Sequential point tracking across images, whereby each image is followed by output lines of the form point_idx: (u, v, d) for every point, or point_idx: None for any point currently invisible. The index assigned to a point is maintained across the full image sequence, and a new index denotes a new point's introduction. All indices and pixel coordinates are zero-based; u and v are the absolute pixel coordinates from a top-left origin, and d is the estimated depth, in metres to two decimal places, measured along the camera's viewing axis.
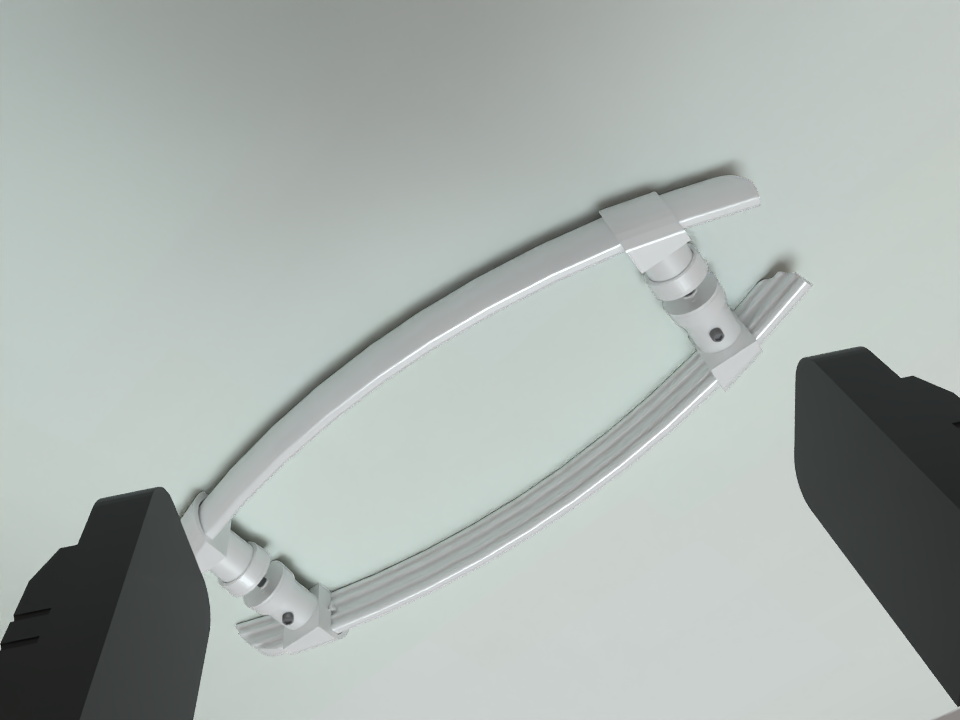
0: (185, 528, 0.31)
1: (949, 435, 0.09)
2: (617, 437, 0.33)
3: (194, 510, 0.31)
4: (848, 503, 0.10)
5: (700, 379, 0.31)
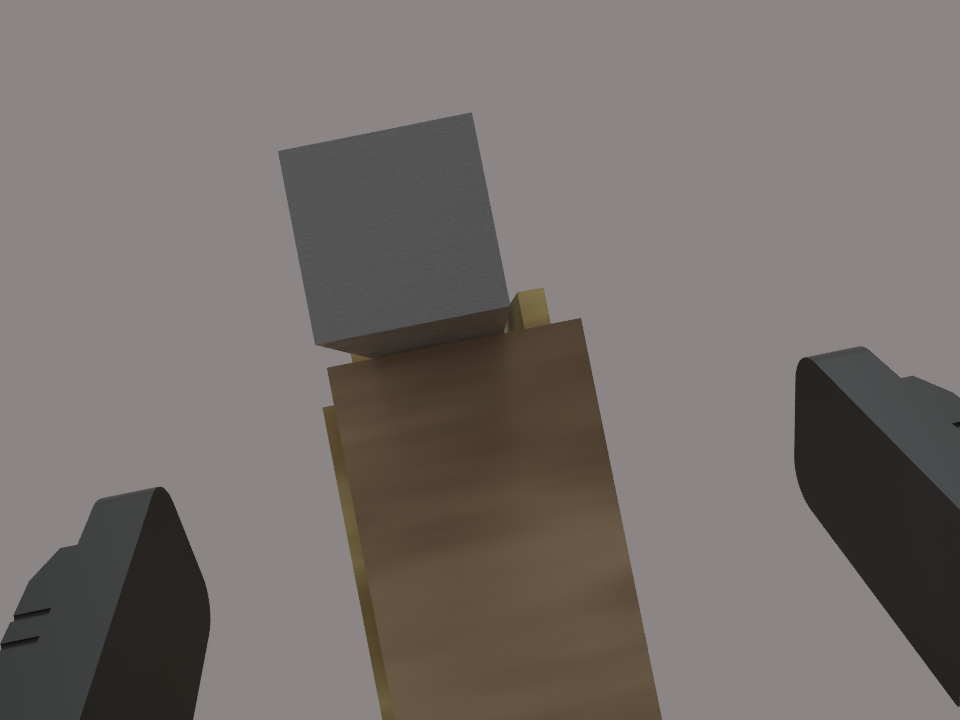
0: None
1: (948, 435, 0.09)
2: None
3: None
4: (847, 502, 0.10)
5: None
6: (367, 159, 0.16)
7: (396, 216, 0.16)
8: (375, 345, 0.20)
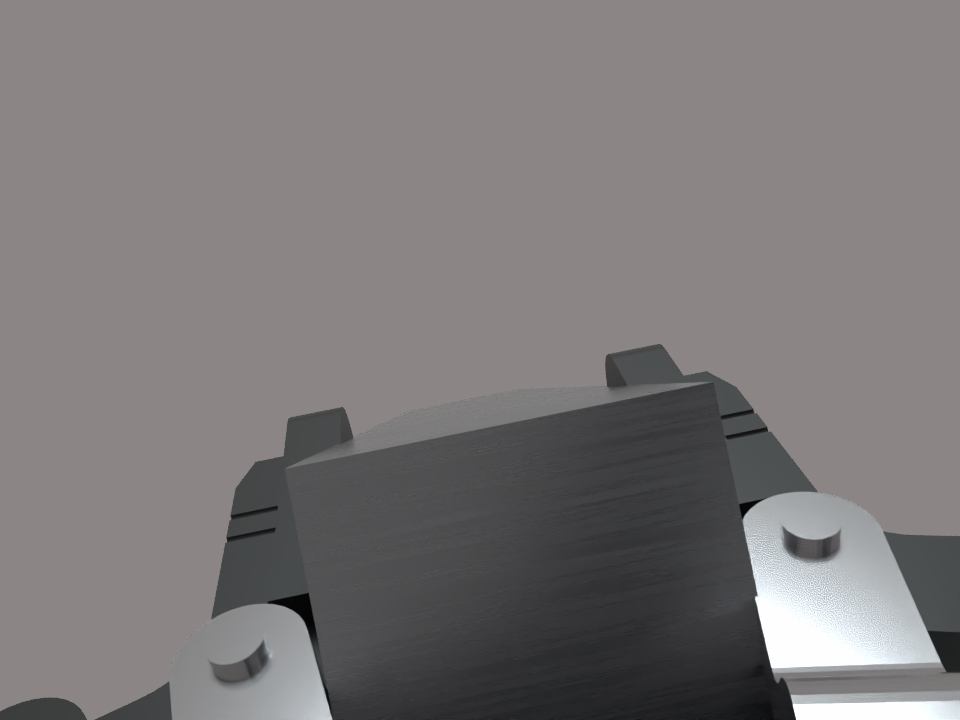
0: None
1: None
2: None
3: None
4: None
5: None
6: (484, 486, 0.07)
7: (550, 612, 0.07)
8: None
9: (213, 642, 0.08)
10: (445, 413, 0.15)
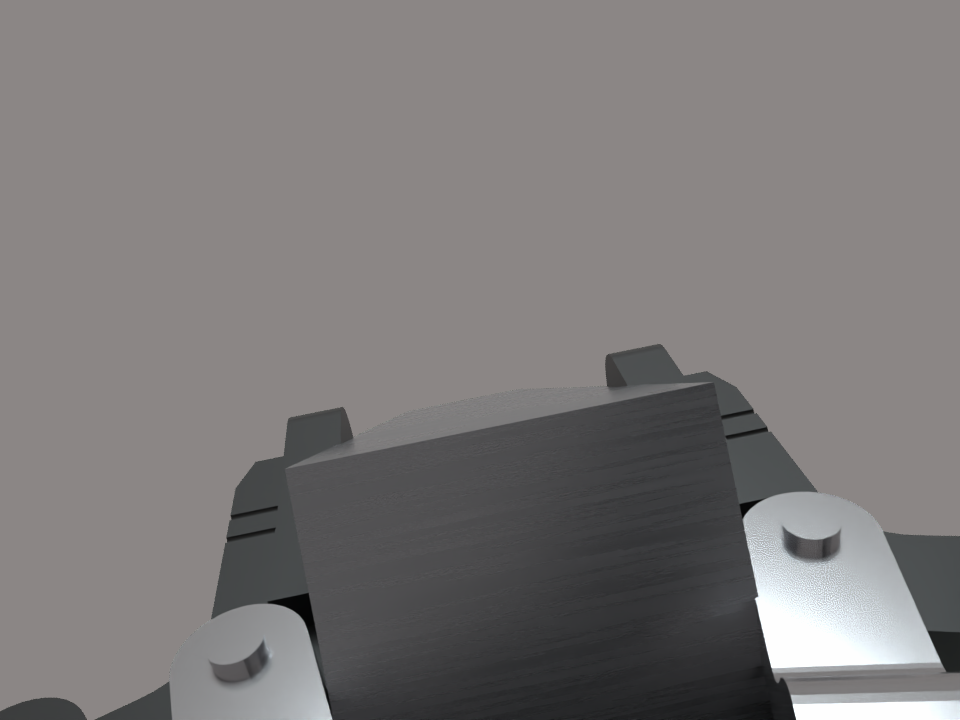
0: None
1: None
2: None
3: None
4: None
5: None
6: (486, 486, 0.07)
7: (551, 614, 0.07)
8: None
9: (213, 642, 0.08)
10: (445, 413, 0.15)
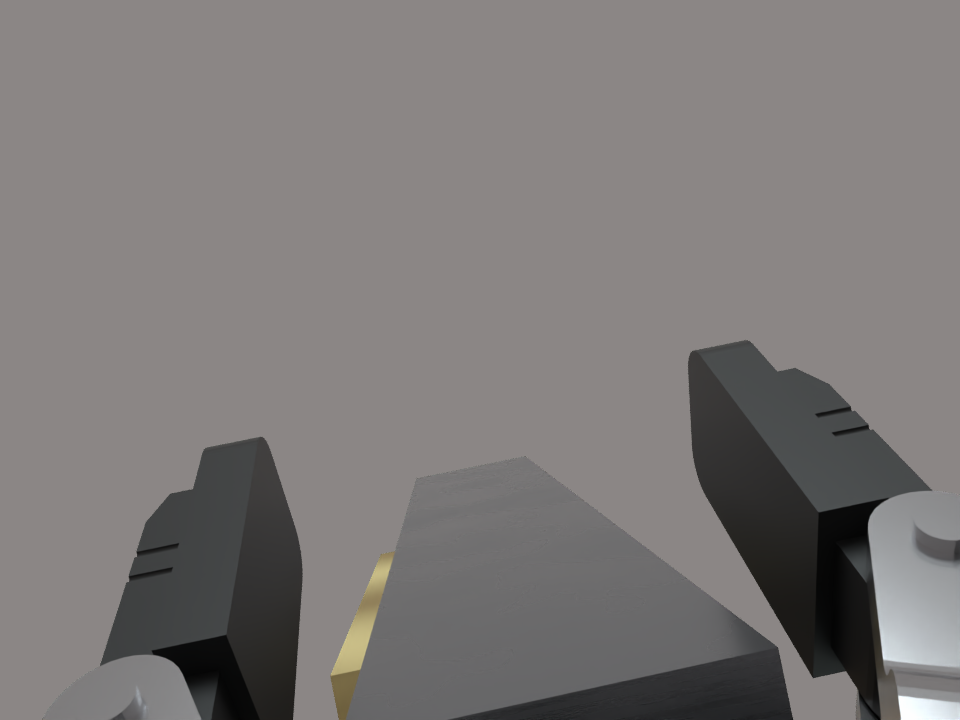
0: None
1: (807, 423, 0.10)
2: None
3: None
4: (729, 488, 0.11)
5: None
6: None
7: None
8: None
9: (81, 702, 0.07)
10: (469, 540, 0.15)
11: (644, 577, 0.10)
